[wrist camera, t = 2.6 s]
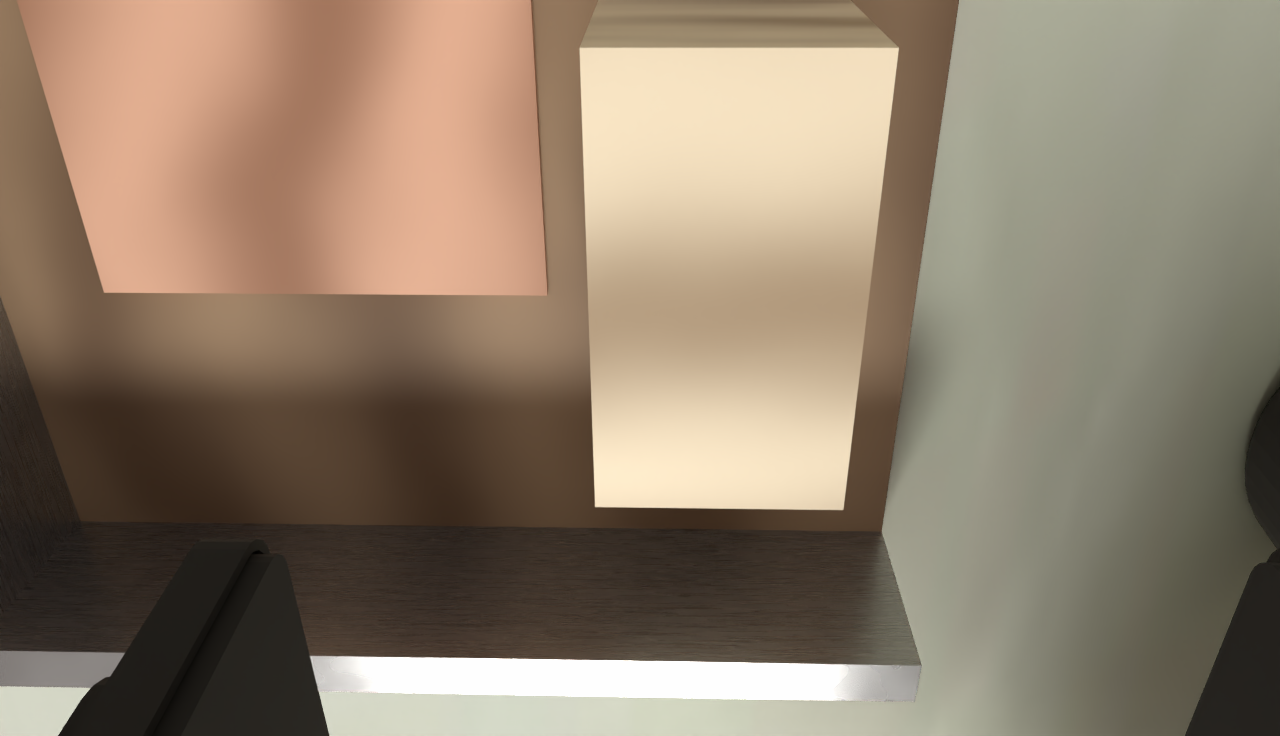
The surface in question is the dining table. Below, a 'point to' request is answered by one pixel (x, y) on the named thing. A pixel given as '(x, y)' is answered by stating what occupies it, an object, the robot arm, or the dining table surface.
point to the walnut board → (356, 260)
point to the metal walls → (464, 597)
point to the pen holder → (1266, 470)
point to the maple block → (730, 245)
